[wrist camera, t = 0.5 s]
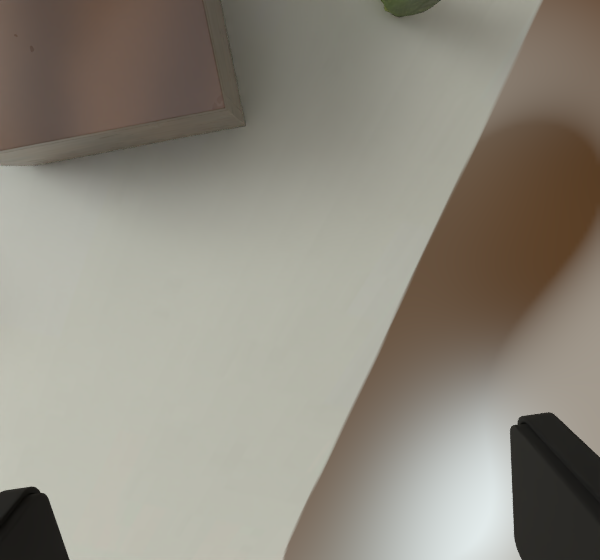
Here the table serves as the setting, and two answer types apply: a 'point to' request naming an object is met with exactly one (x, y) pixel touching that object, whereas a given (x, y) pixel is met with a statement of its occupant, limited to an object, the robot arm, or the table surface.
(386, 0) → the vegetable
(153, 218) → the table surface
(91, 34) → the cabinet
